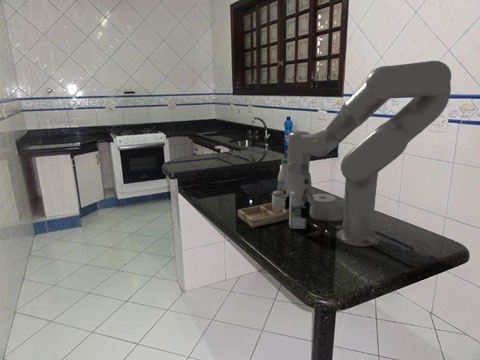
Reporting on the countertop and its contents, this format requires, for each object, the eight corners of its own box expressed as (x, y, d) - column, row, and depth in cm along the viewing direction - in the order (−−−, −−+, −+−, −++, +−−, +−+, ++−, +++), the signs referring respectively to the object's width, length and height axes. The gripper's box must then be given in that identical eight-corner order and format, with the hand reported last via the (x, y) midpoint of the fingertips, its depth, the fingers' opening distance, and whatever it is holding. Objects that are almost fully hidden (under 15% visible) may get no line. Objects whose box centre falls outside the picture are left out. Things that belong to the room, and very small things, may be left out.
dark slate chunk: (237, 189, 170) (237, 180, 168) (275, 183, 177) (275, 175, 175) (248, 197, 156) (247, 188, 154) (289, 191, 163) (289, 182, 162)
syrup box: (304, 224, 122) (305, 187, 118) (306, 231, 117) (307, 192, 113) (288, 224, 123) (289, 187, 119) (290, 231, 117) (290, 192, 113)
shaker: (285, 214, 130) (285, 192, 127) (275, 216, 128) (276, 194, 125) (279, 211, 133) (279, 189, 131) (270, 213, 132) (270, 191, 129)
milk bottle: (294, 199, 150) (295, 156, 144) (295, 205, 142) (296, 160, 137) (277, 199, 150) (277, 156, 145) (277, 205, 143) (277, 160, 138)
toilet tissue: (345, 224, 121) (347, 202, 119) (309, 221, 125) (309, 200, 122) (344, 215, 130) (345, 194, 127) (310, 213, 133) (311, 193, 131)
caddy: (298, 219, 127) (298, 210, 126) (253, 229, 119) (252, 220, 118) (279, 208, 139) (279, 201, 138) (237, 218, 130) (237, 209, 129)
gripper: (323, 171, 108) (320, 219, 112) (292, 161, 123) (291, 203, 127) (304, 174, 104) (302, 223, 109) (275, 163, 119) (275, 207, 124)
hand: (296, 212), depth 118 cm, fingers open, 9 cm apart
